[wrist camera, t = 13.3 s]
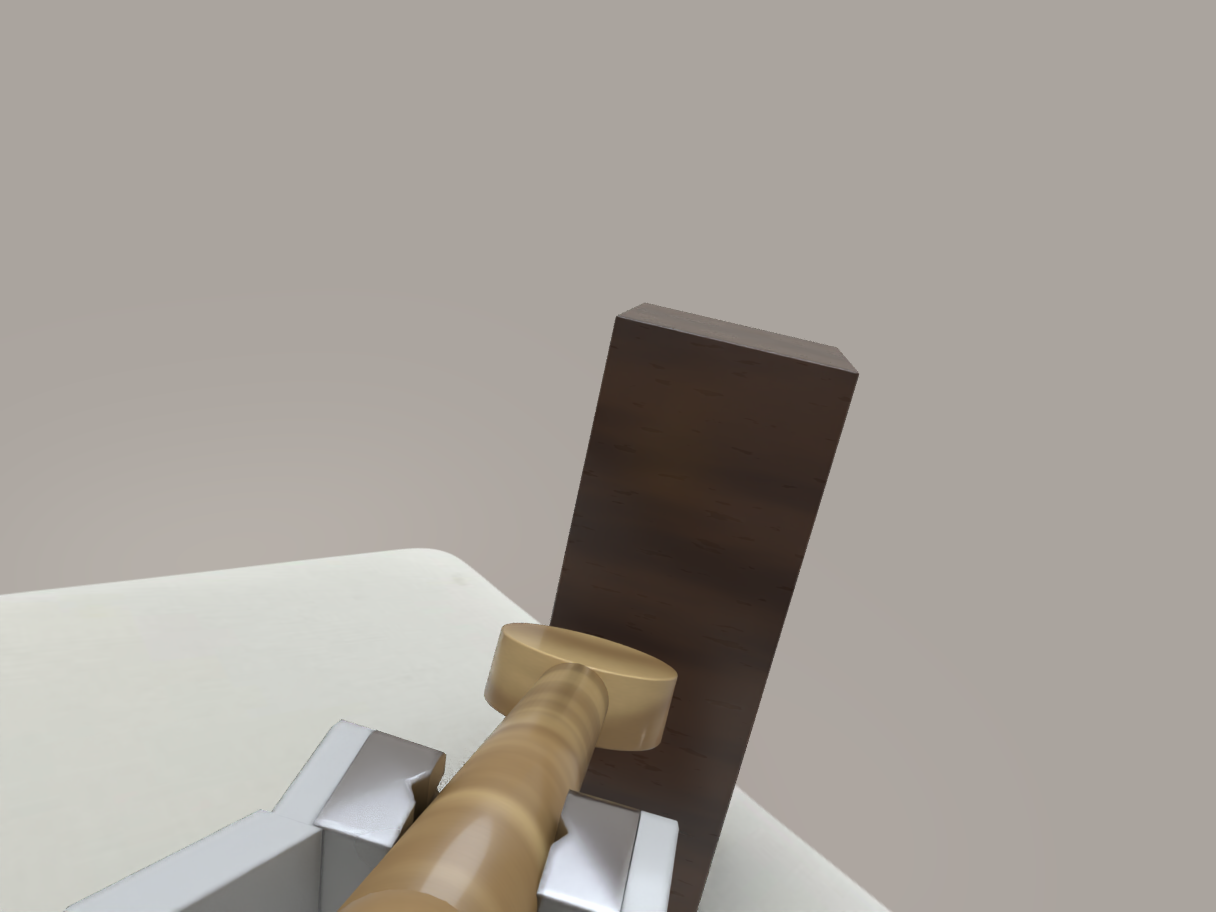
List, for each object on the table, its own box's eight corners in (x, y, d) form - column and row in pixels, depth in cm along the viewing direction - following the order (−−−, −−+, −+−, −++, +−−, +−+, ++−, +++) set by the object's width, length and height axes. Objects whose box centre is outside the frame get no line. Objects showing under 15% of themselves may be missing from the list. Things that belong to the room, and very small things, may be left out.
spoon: (632, 1290, 6) (694, 1042, 6) (46, 1079, 7) (112, 852, 7) (661, 720, 24) (677, 659, 24) (504, 674, 24) (520, 614, 24)
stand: (687, 943, 36) (860, 372, 29) (494, 881, 37) (615, 315, 30) (699, 822, 44) (838, 347, 37) (538, 774, 45) (643, 302, 38)
